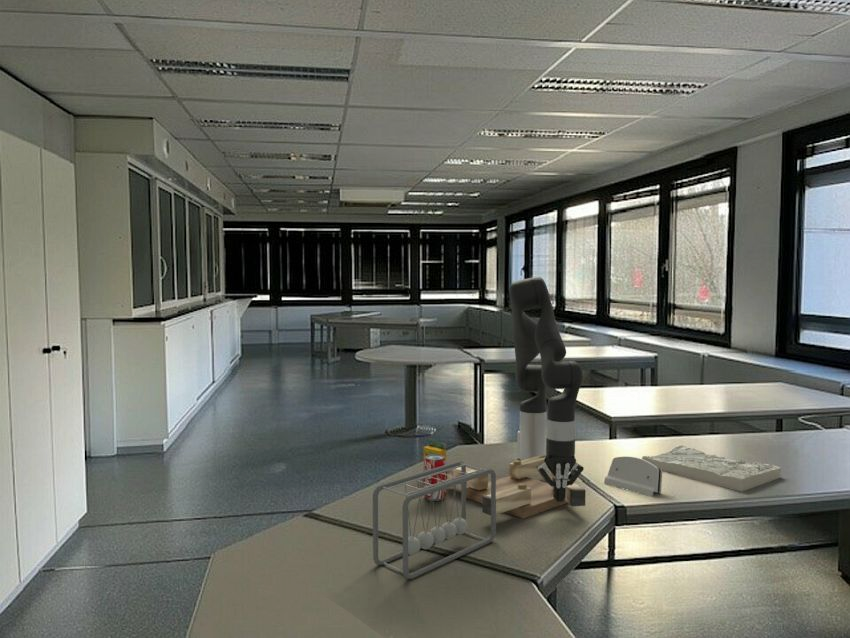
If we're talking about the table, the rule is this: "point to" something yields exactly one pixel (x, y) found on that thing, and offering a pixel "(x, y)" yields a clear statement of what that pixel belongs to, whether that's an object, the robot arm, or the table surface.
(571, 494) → the stool leg
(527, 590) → the table surface
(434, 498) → the soda can
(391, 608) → the table surface
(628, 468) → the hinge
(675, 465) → the topographic model
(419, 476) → the newton's cradle
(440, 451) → the crayon box
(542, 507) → the stool seat
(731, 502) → the table surface
